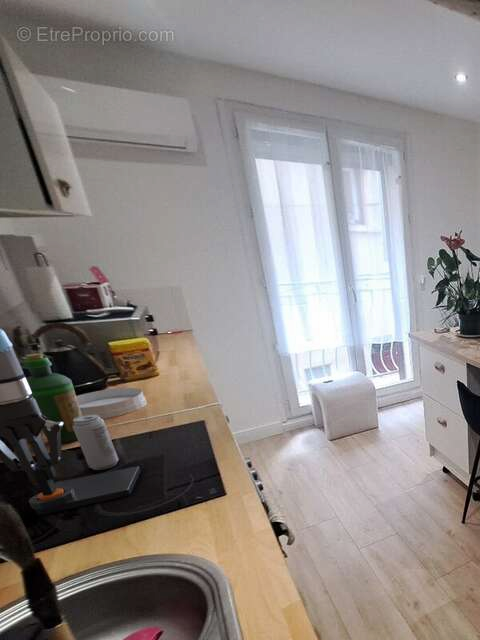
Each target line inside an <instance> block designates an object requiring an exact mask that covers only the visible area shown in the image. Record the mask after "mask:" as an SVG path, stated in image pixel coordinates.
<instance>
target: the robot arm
mask: <svg viewBox="0 0 480 640" xmlns="http://www.w3.org/2000/svg"><path fill="white" fill-rule="evenodd" d="M13 347H14V345H13V342H11V341H10V339H9V337H8V335H7V334H6V332H5V330H4V329H2V328H0V437H2V438H4V439H6V440H7V442H8V443H9V445H10V446H11V447H12V449H13V451H14V452H13V451H12V450H11V449H10V448H9V447H8V446H7V445H6V444H5V442H3V441H2V440H1V439H0V461H1V462H2V463H3V464H4V465H5V466H6V467H7V468H8V469H9V470H10V471H11V472H18V471H19V472H20V471H22V472H25V473H26V475H27V477H28V479H29V482H30V483H32V484H36V483H37V485H38V487H39V489H40V491H41V492H42V493H43V495H49V494H53V493H54V491H55V490H56V489H57V488H56V486H55V484H56V482H55V481H54V480H55V478H56V477H57V471H56V470H55V468H54V466H53V465H57V464H58V463H59V462H60V461H61V459H62V458H63V457H62V456H63V455H62V443H61V429H62V427H63V425H64V423H63V422H62V421H58V422H53V421H49V420H47V418H46V417H45V416H43V415H42V414H41V412H40V409H39V407H38V404H37V402H36V400H35V398H34V397H33V396H30V395H31V394H32V391H31V389H30V387H29V384H28V382H27V380H26V379H27V377H26V375H25V373H24V371H23V368H22V366H21V364H20V361H19V359H18V357H17V354H16V352H15V350H14V348H13ZM44 426H46V427H47V430H48V431H50V433H49V441H48V443H49V452H48V450H47V447H46V446H45V444H44V441H43V439H42V433H41V432H43V430H42V429H43V428H44ZM26 441H27V442H26ZM27 443H28V444H29V446H30V448H31V450H32V452H33V454H34V456H35V459H36V460H37V462H35V460H34V457H33V456H32V455H33V454H32V453H31V451H30V449H29V446H28V444H27ZM15 454H16V455H15Z"/></svg>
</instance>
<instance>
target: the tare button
mask: <svg viewBox="0 0 480 640" xmlns="http://www.w3.org/2000/svg"><path fill="white" fill-rule="evenodd" d="M40 493H41V492H40ZM38 494H39V493H38ZM62 494H64V491H63V489H61V488H57V489H56V490H55V491H54V493H53V494H49V495H43V493H41V494H39V495H38V498H39V500H48V499H52V498H55V497H58V496H60V495H62Z"/></svg>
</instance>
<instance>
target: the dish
mask: <svg viewBox="0 0 480 640" xmlns="http://www.w3.org/2000/svg"><path fill="white" fill-rule="evenodd" d="M76 397H77V401H78V404H79V407H80V410H81V414H82V416H85V415H93V414H95V415H99V417H100V418H101V419H103V420H105V419H110V418H116V417H120V416H123V415H127V414H130V413H134V412H137V411H139V410H140V409H142V408H144V407H145V406H147V400H146V397H145V395H144V392H143V390H142V389H140V388H135V387H121V388H110V389H102V390H96V391H92V392H86V393H82V394H78V395H76Z"/></svg>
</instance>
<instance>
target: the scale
mask: <svg viewBox="0 0 480 640" xmlns="http://www.w3.org/2000/svg"><path fill="white" fill-rule="evenodd" d="M141 472H142V471H141V468H140V466H139V465H137V466H132V467H127V468H122V469H116V470H111V471H106V472H101V473H95V474H90V475H86V476H82V477H81V476H80V477H76V478H71V479H66V480H60V481H56V482H55V486H56V488H61V489H63V491H64V494H62V495H60V496H58V497H55V498H52V499H48V500H39V498H38V495H39V494H41V493H42V491H41V492H39V493H37V494H35V495H34V496H31V497H30V499H29V500H28V504H29V505H30V507H31V508H32V509H33V510H34V511H35V512H36V515H37V516H43V515H47V514H51V513H52V514H53V513H56V512H61V511H65V510H69V509H75V508H78V507H83V506H88V505H93V504H97V503H100V502H106V501H109V500H115V499H119V498H123V497H128V496H131V493H132V491H133V489H134V487H135V485H136V483H137V480H138V478H139V476H140V474H141Z"/></svg>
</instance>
